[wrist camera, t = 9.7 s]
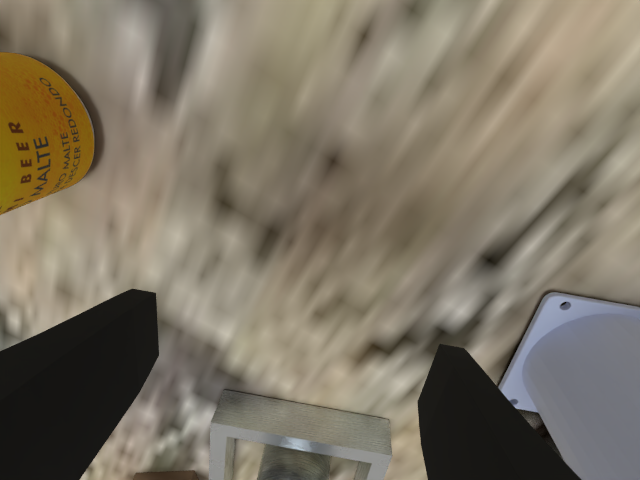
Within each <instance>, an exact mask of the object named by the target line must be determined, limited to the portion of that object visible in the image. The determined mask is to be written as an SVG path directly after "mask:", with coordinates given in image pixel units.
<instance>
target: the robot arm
mask: <svg viewBox="0 0 640 480" xmlns="http://www.w3.org/2000/svg"><path fill="white" fill-rule="evenodd" d="M563 302H567V303H566V304H565V305H562V306H560V305H561V304H562V303H563ZM158 356H159V346H158V326H157V306H156V293H153V292H148V291H142V290H137V289H130V290H128V291H126V292H124V293H121V294H119V295H117V296H115V297H113V298H111V299H109V300H107V301H105V302H103V303H101V304H99V305H97V306H95V307H93V308H91V309H89V310H87V311H85V312H83V313H81V314H79V315H77V316H75V317H73V318H71V319H68V320H66V321H64V322H62V323H60V324H58V325H56V326H54V327H52V328H50V329H48V330H46V331H44V332H42V333H40V334H38V335H36V336H33V337H31V338H29V339H27V340H24V341H22V342H20V343H18V344H16V345H13V346H11V347H9V348H7V349H5V350H2V351H0V480H79V479H80V478H81V476H82V475H83V474H84V472H85V471H86V469H87V468H88V466H89V465H90V463H91V462H92V461H93V459H94V458H95V456H96V455H97V453H98V452H99V450H100V449H101V448H102V446H103V445H104V443H105V442H106V440H107V439H108V438H109V436H110V435H111V433H112V432H113V430H114V429H115V427H116V426H117V425H118V423H119V422H120V420H121V419H122V417H123V416H124V414H125V413H126V411H127V410H128V408H129V407H130V406H131V404H132V403H133V401H134V400H135V398H136V397H137V395H138V394H139V392H140V390H141V388H142V387H143V385H144V383H145V381H146V379H147V377H148V376H149V374H150V372H151V370H152V368H153V366H154V364H155V362H156V360H157V358H158ZM511 399H513V400H511ZM516 408H517V409H522V410H528V411H533V412H538V413H539V414H540V416H541V418H542V420H543V422H544V424H545V426H546V427H547V429H548V431H549V433H550V435H551V437H552V439H553V440H554V442H555V444H556V446H557V448H558V450H559V452H560V453H561V455H562V457H563V459H564V461H565V462H564V461H563V460H562V459H561V458H560V457H559V456H558V454H557V453H556V452H555V451H554V450H553V449H552V448H551V447H550V446H549V445H548V444H547V443H546V442H545V441H544V440H543V438H542V437H541V436H540V435H539V434H538V433H537V432H536V431H535V430H534V429H533V427H532V426H531V425H530V424H529V423H528V422H527V421H526V420H525V418H524V417H523V416H522V415H521V414H520V413H519V412H518V410H517V409H516ZM418 414H419V427H420V437H421V446H422V451H423V456H424V461H425V466H426V471H427V476H428V480H640V307H636V306H631V305H625V304H619V303H614V302H608V301H602V300H597V299H591V298H586V297H580V296H574V295H569V294H563V293H557V292H552V293H549V294H547V295H546V296H545V297H544V298H543V299H542V301H541V303H540V305H539V307H538V309H537V311H536V313H535V315H534V317H533V319H532V321H531V323H530V325H529V327H528V329H527V331H526V333H525V335H524V337H523V339H522V341H521V343H520V345H519V347H518V349H517V351H516V353H515V355H514V357H513V359H512V361H511V363H510V365H509V367H508V369H507V371H506V373H505V375H504V377H503V379H502V381H501V383H500V385H499V387H497V386H496V385H495V384H494V382H493V381H492V380H491V379H490V378H489V376H488V375H487V374H486V373H485V372H484V371H483V369H482V368H481V367H480V366H479V365H478V363H477V362H476V361H475V360H474V359H473V358H472V357H471V355H470V354H469V353H468V352H467V351H466V350H465V349H464V348H459V347H454V346H448V345H443V344H440V345H439V347H438V350H437V352H436V355H435V358H434V360H433V363H432V366H431V368H430V371H429V374H428V376H427V379H426V381H425V384H424V387H423V389H422V392H421V395H420V397H419V400H418Z"/></svg>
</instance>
